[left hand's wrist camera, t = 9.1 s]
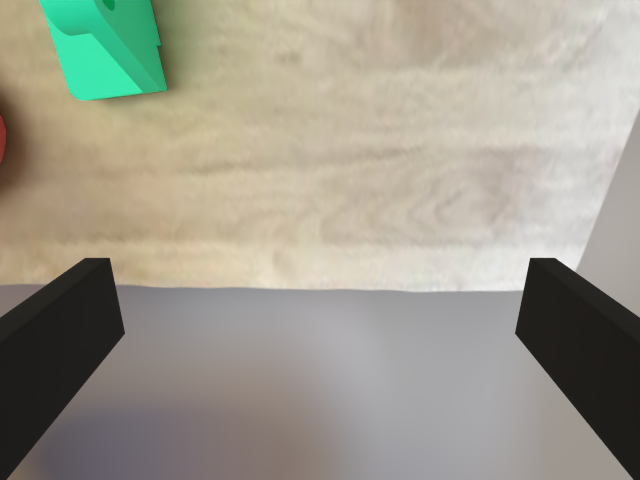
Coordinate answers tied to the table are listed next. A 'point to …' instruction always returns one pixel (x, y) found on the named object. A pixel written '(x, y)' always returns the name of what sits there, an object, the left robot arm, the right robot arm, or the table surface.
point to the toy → (2, 138)
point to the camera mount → (106, 46)
